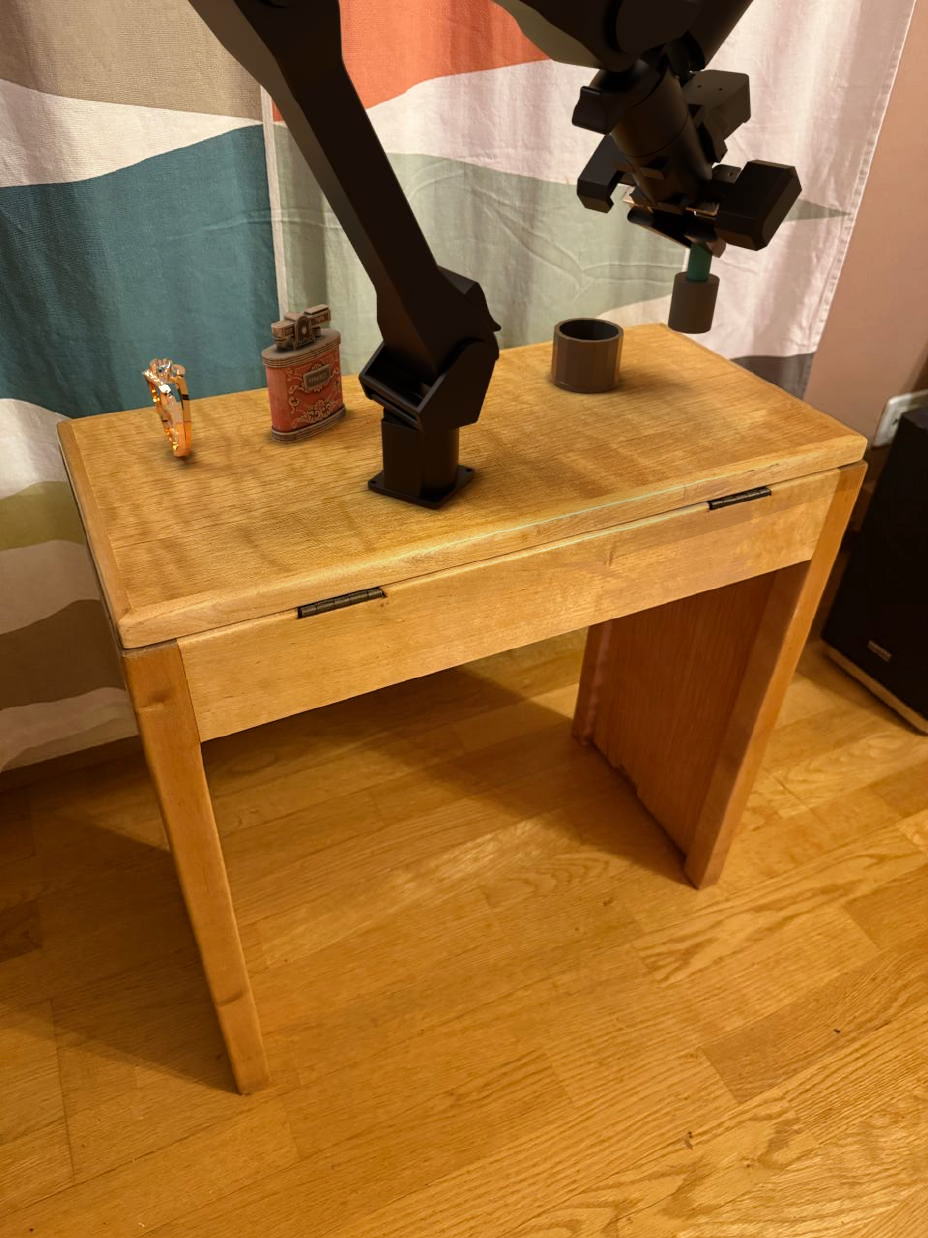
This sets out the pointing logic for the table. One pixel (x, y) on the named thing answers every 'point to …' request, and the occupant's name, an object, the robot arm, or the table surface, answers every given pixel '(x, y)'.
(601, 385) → the tumbler
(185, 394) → the ring
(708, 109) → the robot arm
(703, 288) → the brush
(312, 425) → the lighter
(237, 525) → the table surface
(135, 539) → the table surface
